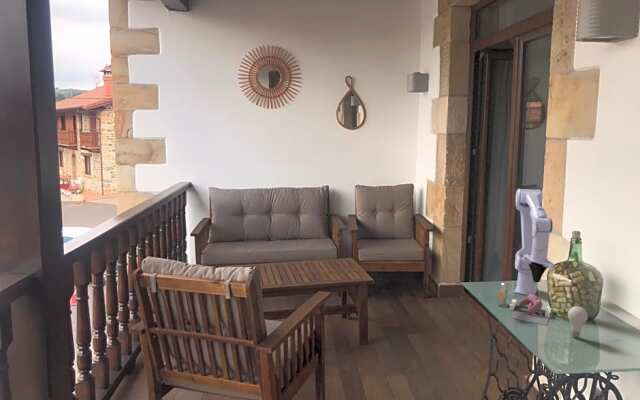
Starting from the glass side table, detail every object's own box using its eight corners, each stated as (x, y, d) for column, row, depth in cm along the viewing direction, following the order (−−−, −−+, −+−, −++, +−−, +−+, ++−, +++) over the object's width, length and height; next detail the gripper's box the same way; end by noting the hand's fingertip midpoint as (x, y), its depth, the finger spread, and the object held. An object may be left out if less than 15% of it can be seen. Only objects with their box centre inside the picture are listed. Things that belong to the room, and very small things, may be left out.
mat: (515, 311, 200) (515, 310, 200) (548, 317, 194) (549, 317, 194) (511, 318, 193) (511, 317, 193) (546, 325, 187) (546, 325, 187)
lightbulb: (583, 335, 180) (587, 305, 178) (586, 342, 174) (590, 311, 172) (564, 332, 182) (567, 302, 180) (566, 339, 176) (569, 308, 174)
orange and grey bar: (501, 286, 206) (501, 281, 205) (508, 287, 204) (509, 283, 204) (497, 297, 194) (497, 292, 194) (505, 298, 193) (505, 293, 193)
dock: (500, 301, 209) (502, 286, 208) (551, 311, 200) (552, 295, 199) (497, 307, 203) (498, 291, 202) (549, 317, 194) (551, 300, 193)
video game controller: (536, 319, 196) (547, 303, 195) (526, 313, 195) (536, 298, 194) (527, 309, 205) (536, 294, 204) (517, 304, 205) (526, 289, 204)
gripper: (562, 252, 197) (558, 286, 200) (534, 242, 210) (530, 274, 213) (548, 254, 195) (544, 288, 197) (520, 244, 208) (517, 276, 210)
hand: (536, 281), depth 205 cm, fingers closed
